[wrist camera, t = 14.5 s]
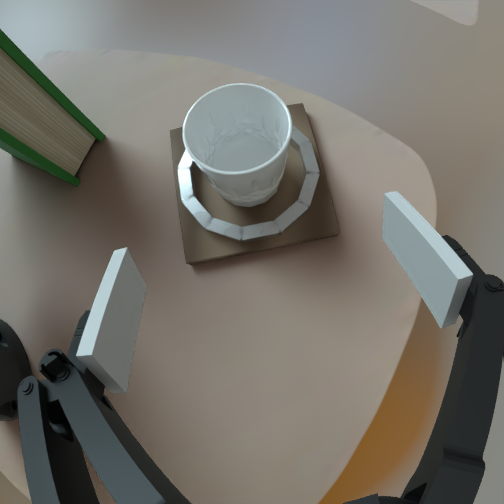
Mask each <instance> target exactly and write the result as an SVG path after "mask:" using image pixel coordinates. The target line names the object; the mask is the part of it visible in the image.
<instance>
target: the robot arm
mask: <svg viewBox="0 0 504 504" xmlns="http://www.w3.org/2000/svg"><path fill="white" fill-rule="evenodd" d="M382 239H383V240H384V242H385V243H386V244H387V246H388V247H389V249H390V250H391V252H392V253H393V254H394V256H395V257H396V259H397V260H398V262H399V263H400V265H401V266H402V268H403V269H404V270H405V272H406V273H407V275H408V276H409V278H410V280H411V281H412V283H413V284H414V286H415V287H416V289H417V290H418V292H419V293H420V295H421V297H422V298H423V300H424V301H425V303H426V304H427V306H428V308H429V309H430V311H431V312H432V314H433V316H434V317H435V319H436V321H437V323H438V324H439V326H440V328H441V329H442V328H445V327H447V326H450V325H453V324H455V323H456V320H457V318H458V316H459V314H460V315H461V317H462V319H463V323H462V325H461V327H460V329H459V332H458V334H457V337H459V339H458V344H457V349H456V353H455V358H454V362H453V366H452V370H451V374H450V377H449V381H448V385H447V388H446V392H445V395H444V398H443V401H442V405H441V408H440V411H439V414H438V417H437V420H436V423H435V426H434V428H433V431H432V434H431V436H430V439H429V442H428V444H427V447H426V449H425V452H424V454H423V456H422V459H421V461H420V463H419V466H418V468H417V470H416V472H415V473H414V475H413V476H412V477H411V479H410V481H409V482H408V484H407V486H406V488H405V490H404V492H403V494H402V496H401V498H398V497H391V496H378V494H374V495H370V496H367V497H364V498H360V499H357V500H353V501H349V502H345V503H343V504H473V502H474V499H475V497H476V494H477V492H478V489H479V486H480V483H481V481H482V478H483V475H484V471H485V462H484V461H483V452H484V449H485V445H486V442H487V438H488V434H489V431H490V427H491V422H492V417H493V413H494V409H495V403H496V399H497V393H498V387H499V380H500V374H501V367H502V359H503V358H504V283H503V281H502V280H501V279H499V278H498V277H496V276H494V275H489V274H487V275H486V274H485V273H484V272H483V271H482V269H481V268H480V267H479V266H478V265H477V264H476V262H475V261H474V260H473V259H472V258H471V257H470V256H469V255H468V253H467V252H466V251H465V250H464V249H463V248H462V246H461V245H460V244H459V243H458V242H457V241H456V240H454V239H453V238H451V237H449V236H448V235H445V236H440V235H439V234H438V233H437V232H436V230H435V229H434V228H433V227H432V226H431V225H430V224H429V223H428V222H427V221H426V220H425V219H424V218H423V217H422V216H421V215H420V214H419V213H418V211H417V210H416V209H415V208H414V207H413V206H412V205H411V204H410V203H409V202H408V201H407V200H406V199H405V198H404V197H403V196H402V195H400V194H399V193H398V192H397V191H394V192H388V193H384V209H383V230H382ZM146 290H147V286H146V284H145V282H144V280H143V278H142V276H141V274H140V272H139V270H138V268H137V266H136V264H135V262H134V260H133V258H132V256H131V254H130V252H129V250H128V248H127V247H126V248H122V249H118V250H114V252H113V255H112V257H111V260H110V262H109V264H108V267H107V269H106V272H105V274H104V277H103V279H102V282H101V285H100V287H99V290H98V292H97V295H96V298H95V300H94V303H93V306H92V309H91V310H88V311H86V312H85V313H84V314H83V316H82V317H81V318H80V320H79V323H78V325H77V328H76V329H77V330H76V331H75V334H74V337H73V340H72V343H71V346H70V349H69V352H68V355H67V357H66V355H65V354H64V353H63V352H62V351H61V350H60V349H52V350H50V351H48V352H47V353H46V354H45V355H44V356H43V357H42V359H41V361H40V364H39V371H40V372H41V373H42V374H43V375H44V376H45V377H46V378H47V379H45V380H43V381H39V380H38V379H37V378H35V377H34V376H31V371H30V367H29V363H28V360H27V357H26V354H25V351H24V349H23V347H22V344H21V342H20V341H19V339H18V337H17V335H16V334H15V332H14V331H13V330H12V329H11V327H10V326H9V325H8V324H7V323H5V322H4V321H3V320H1V319H0V421H11V420H14V419H17V418H19V427H20V437H21V445H22V453H23V459H24V466H25V471H26V477H27V482H28V487H29V492H30V496H31V500H32V504H99V501H98V498H97V496H96V493H95V490H94V487H93V484H92V481H91V478H90V475H89V472H88V469H87V465H86V462H85V459H84V455H83V452H82V448H83V450H84V452H85V454H86V455H87V457H88V459H89V461H90V462H91V464H92V466H93V467H94V469H95V471H96V472H97V474H98V476H99V477H100V479H101V480H102V482H103V483H104V485H105V487H106V488H107V490H108V491H109V493H110V494H111V496H112V497H113V498H114V500H115V501H116V503H117V504H191V503H190V502H189V501H188V500H187V499H186V498H185V497H184V496H183V495H182V494H181V493H180V491H179V490H178V489H177V488H176V487H175V486H174V485H173V484H172V483H171V482H170V480H169V479H168V478H167V477H166V476H165V475H164V473H163V472H162V471H161V470H160V469H159V468H158V466H157V465H156V464H155V463H154V462H153V460H152V459H151V458H150V457H149V455H148V454H147V453H146V452H145V450H144V449H143V448H142V446H141V445H140V444H139V443H138V441H137V440H136V439H135V437H134V436H133V435H132V433H131V432H130V430H129V429H128V428H127V426H126V425H125V423H124V422H123V421H122V419H121V418H120V416H119V415H118V413H117V412H116V410H115V409H114V407H113V406H112V404H111V403H110V401H109V400H108V398H107V397H106V396H105V395H104V394H103V393H104V388H105V387H106V388H107V389H108V390H109V391H110V392H111V393H112V394H113V393H127V389H128V382H129V376H130V370H131V364H132V358H133V353H134V347H135V342H136V337H137V332H138V327H139V322H140V317H141V312H142V308H143V303H144V299H145V294H146ZM502 357H503V358H502ZM81 446H82V448H81Z"/></svg>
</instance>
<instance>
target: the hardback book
mask: <svg viewBox="0 0 504 504" xmlns="http://www.w3.org/2000/svg"><path fill="white" fill-rule="evenodd" d="M104 137H105V135H104V134H103V133H102V132H101V131H100V130H99V129H98V128H97V127H96V126H95V125H94V124H93V123H92V122H91V121H90V120H89V119H88V118H87V117H86V116H85V115H84V114H83V113H82V112H81V111H80V110H79V109H78V108H77V107H76V106H75V105H74V104H73V103H72V102H71V101H70V100H69V99H68V98H67V97H66V96H65V95H64V94H63V93H62V92H61V91H60V90H59V89H58V88H57V87H56V86H55V85H54V84H53V83H52V82H51V81H50V80H49V79H48V78H47V77H46V76H45V75H44V74H43V73H42V72H41V71H40V70H39V69H38V68H37V67H36V66H35V65H34V63H33V62H32V61H31V60H30V59H29V58H28V57H27V56H26V55H25V54H24V53H23V52H22V51H21V50H20V49H19V48H18V47H17V46H16V45H15V44H14V43H13V42H12V41H11V40H10V39H9V38H8V37H7V36H6V35H5V33H4V32H3V31H1V29H0V148H1V149H3V150H4V151H6V152H8V153H9V154H11V155H13V156H15V157H17V158H19V159H21V160H23V161H25V162H27V163H29V164H31V165H33V166H35V167H37V168H39V169H41V170H43V171H45V172H47V173H49V174H52V175H54V176H56V177H58V178H60V179H62V180H64V181H66V182H68V183H70V184H72V185H74V186H76V187H77V186H78V184H79V182H80V180H79V179H78V178H76V177H75V175H76V173H77V171H78V169H79V167H80V165H81V163H82V162H83V160H84V158H85V156H86V154H87V153H88V151H89V149H90V147H91V146H92V144H93V142H94V140H98V141H101V142H102V140H103V139H104Z"/></svg>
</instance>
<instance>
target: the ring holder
mask: <svg viewBox="0 0 504 504" xmlns="http://www.w3.org/2000/svg"><path fill="white" fill-rule="evenodd" d="M287 108H288V110H289V112H290V115H291V118H292V134H291V139H290V145H289V151H288V156H287V161H286V165H285V170H284V173H283V177H282V180H281V183H280V185H279V188H278V190H277V192H276V193H275V194H274V195H273V196H272V197H271V198H270V199H269V200H268V201H267V202H265V203H263V204H259V205H256V206H253V207H243V206H235V205H233V204H232V203H230V202H229V201H227V200H225V199H224V198H222V197H221V195H220V194H219V192H218V191H217V190H216V189H215V188H214V187H213V186H212V185H211V183H210V182H209V181H208V180H207V179H206V177H205V176H204V174H203V173H202V172H201V170H200V169H199V167H198V166H197V165H196V163H195V162H194V161H193V159H192V158H191V157H190V155H189V154H188V152H187V150H186V148H185V146H184V142H183V135H182V131H183V127H181V128H177V129H174V130H170V137H171V147H172V157H173V167H174V176H175V185H176V193H177V201H178V209H179V216H180V224H181V231H182V238H183V245H184V252H185V258H186V263H187V264H190V265H192V264H197V263H202V262H207V261H212V260H217V259H222V258H227V257H232V256H237V255H242V254H247V253H252V252H257V251H262V250H267V249H272V248H277V247H282V246H287V245H292V244H297V243H302V242H307V241H313V240H318V239H323V238H328V237H333V236H337V235H338V234H339V233H340V231H339V227H338V223H337V219H336V215H335V211H334V207H333V203H332V199H331V196H330V192H329V188H328V185H327V181H326V177H325V174H324V170H323V167H322V163H321V160H320V156H319V153H318V150H317V146H316V143H315V140H314V137H313V133H312V130H311V127H310V124H309V121H308V118H307V115H306V112H305V109H304V106H303V103H301V104H293V105H287Z"/></svg>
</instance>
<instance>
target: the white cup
mask: <svg viewBox="0 0 504 504" xmlns="http://www.w3.org/2000/svg"><path fill="white" fill-rule="evenodd" d="M291 134H292V118H291V115H290V112H289V110H288V108H287V106H286V104H285V103H284V102H283V101H282V99H281V98H280V97H279V96H277V95H276V94H275V93H273V92H272V91H270V90H268V89H266V88H264V87H261V86H258V85H254V84H247V83H235V84H229V85H224V86H221V87H218V88H216V89H213V90H211V91H209V92H208V93H206V94H205V95H203V96H202V97H201V98H199V99H198V100H197V101H196V102H195V103H194V105H193V106H192V107H191V108H190V110H189V112H188V113H187V115H186V118H185V120H184V124H183V131H182V135H183V142H184V146H185V148H186V150H187V152H188V154H189V155H190V157H191V158H192V159H193V161H194V162H195V163H196V165H197V166H198V167H199V169H200V170H201V172H202V173H203V174H204V176H205V177H206V179H207V180H208V181H209V182H210V183H211V185H212V186H213V187H214V188H215V189H216V190H217V191H218V192H219V194H220V195H221V197H222V198H224V199H225V200H227V201H229V202H230V203H232V204H233V205H235V206H243V207H253V206H256V205H259V204H263V203H265V202H267V201H268V200H269V199H270V198H271V197H272V196H273V195H274V194H275V193H276V192H277V190H278V188H279V185H280V183H281V180H282V177H283V173H284V170H285V165H286V161H287V156H288V151H289V145H290V139H291Z"/></svg>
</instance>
